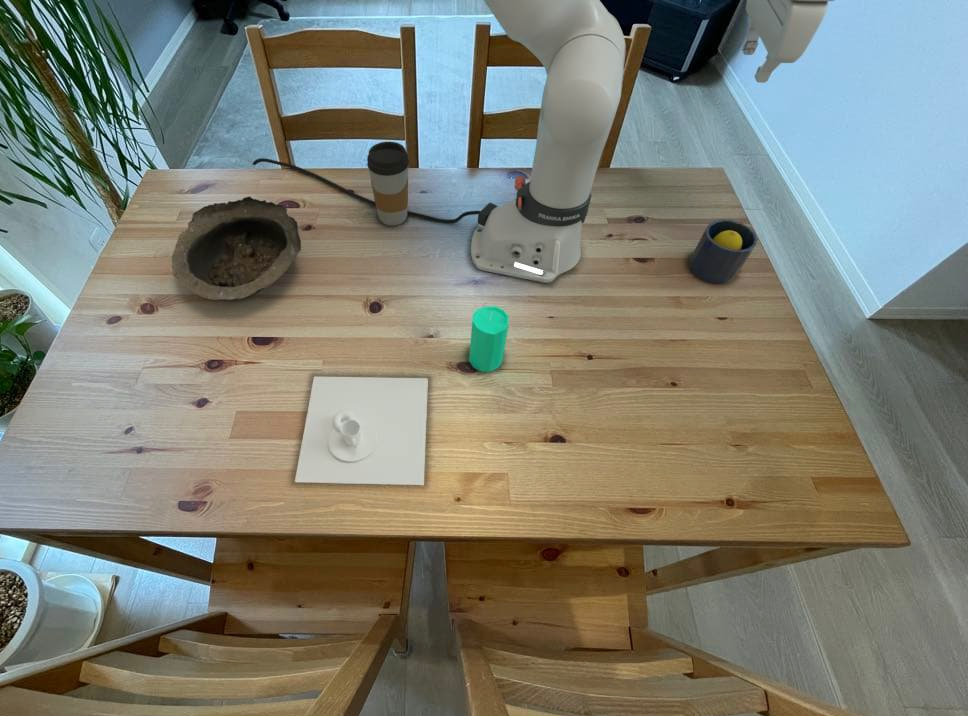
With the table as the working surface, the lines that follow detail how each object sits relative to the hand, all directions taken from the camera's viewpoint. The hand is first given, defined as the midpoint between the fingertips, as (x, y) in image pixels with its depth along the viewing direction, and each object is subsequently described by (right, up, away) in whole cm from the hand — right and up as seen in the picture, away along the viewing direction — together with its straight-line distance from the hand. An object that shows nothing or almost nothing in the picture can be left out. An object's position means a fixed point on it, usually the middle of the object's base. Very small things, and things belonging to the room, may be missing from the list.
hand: (753, 66), depth 87 cm
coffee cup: (-63, -16, +26) cm, 70 cm away
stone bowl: (-92, -31, +17) cm, 98 cm away
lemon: (+2, -30, +15) cm, 33 cm away
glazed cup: (+2, -30, +16) cm, 34 cm away
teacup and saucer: (-66, -61, -3) cm, 90 cm away
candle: (-45, -49, +5) cm, 67 cm away
